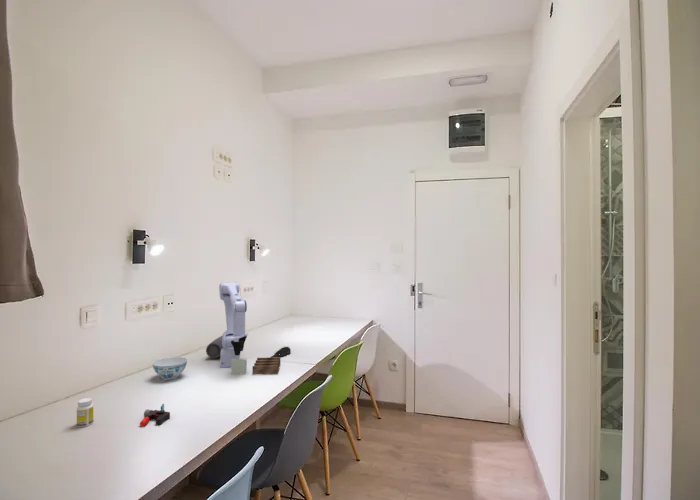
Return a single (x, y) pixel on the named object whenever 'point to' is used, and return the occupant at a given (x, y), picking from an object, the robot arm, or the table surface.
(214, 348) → the bluetooth speaker
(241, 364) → the pale green box
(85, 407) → the supplement bottle
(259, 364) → the dish rack
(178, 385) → the table surface
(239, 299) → the robot arm
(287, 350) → the hairbrush
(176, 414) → the table surface
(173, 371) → the chinaware
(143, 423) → the toy gun
